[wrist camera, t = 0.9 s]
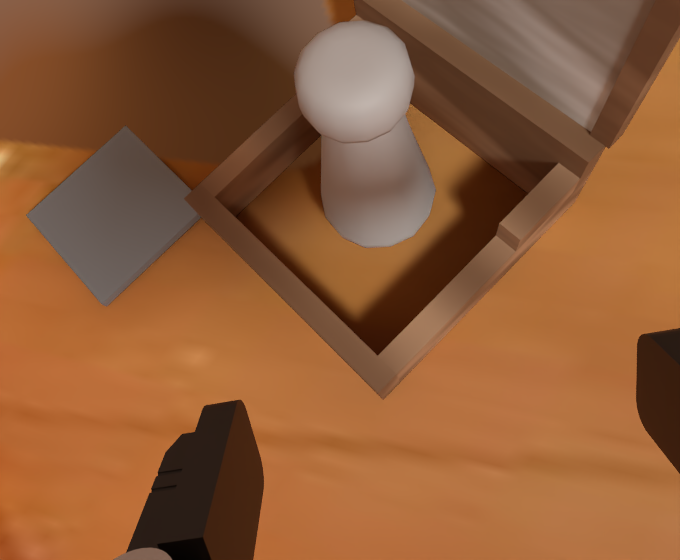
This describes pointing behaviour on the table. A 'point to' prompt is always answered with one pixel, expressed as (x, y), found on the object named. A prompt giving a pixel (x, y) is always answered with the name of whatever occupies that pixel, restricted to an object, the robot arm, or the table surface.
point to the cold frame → (471, 136)
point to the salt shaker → (365, 132)
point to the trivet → (115, 215)
